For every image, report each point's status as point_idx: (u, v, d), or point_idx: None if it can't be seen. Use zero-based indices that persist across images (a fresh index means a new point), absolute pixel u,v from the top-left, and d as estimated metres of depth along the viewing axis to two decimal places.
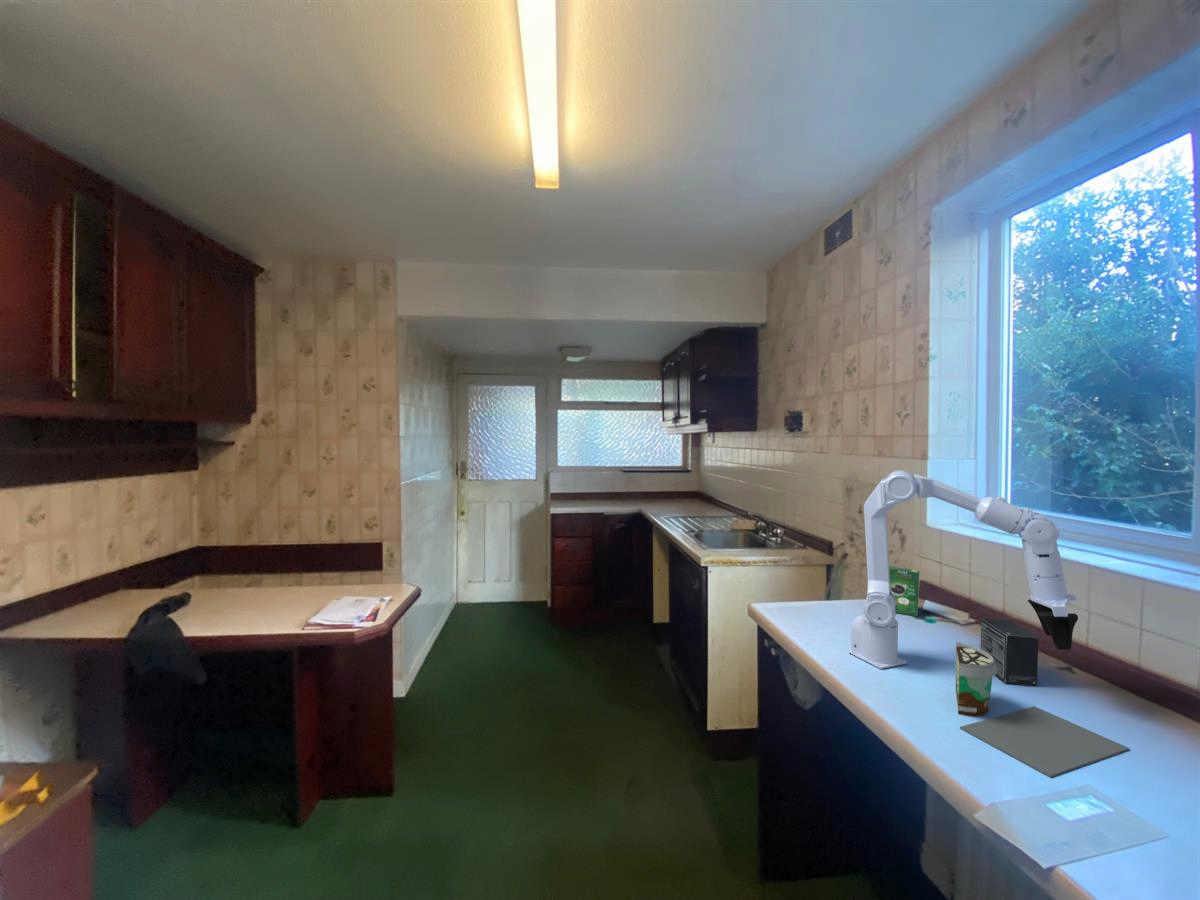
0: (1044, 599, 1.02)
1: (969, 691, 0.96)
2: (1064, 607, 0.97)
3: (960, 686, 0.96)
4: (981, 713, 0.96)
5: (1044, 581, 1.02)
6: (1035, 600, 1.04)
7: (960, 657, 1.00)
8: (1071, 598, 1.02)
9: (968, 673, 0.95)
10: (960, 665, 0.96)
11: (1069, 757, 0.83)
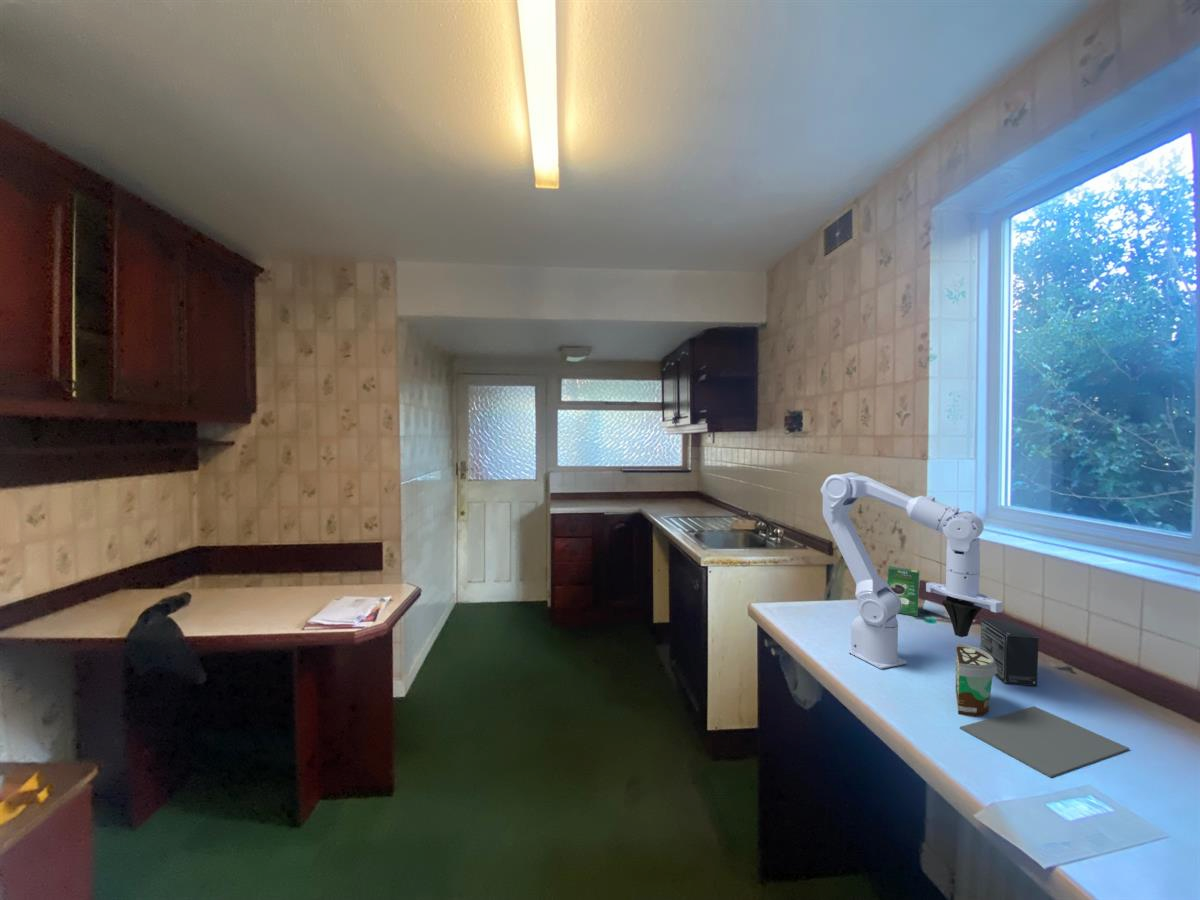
0: (970, 596, 1.05)
1: (969, 691, 0.96)
2: (1001, 603, 1.01)
3: (960, 686, 0.96)
4: (981, 713, 0.96)
5: (973, 578, 1.05)
6: (962, 597, 1.05)
7: (960, 657, 1.00)
8: None
9: (968, 673, 0.95)
10: (960, 665, 0.96)
11: (1069, 757, 0.83)
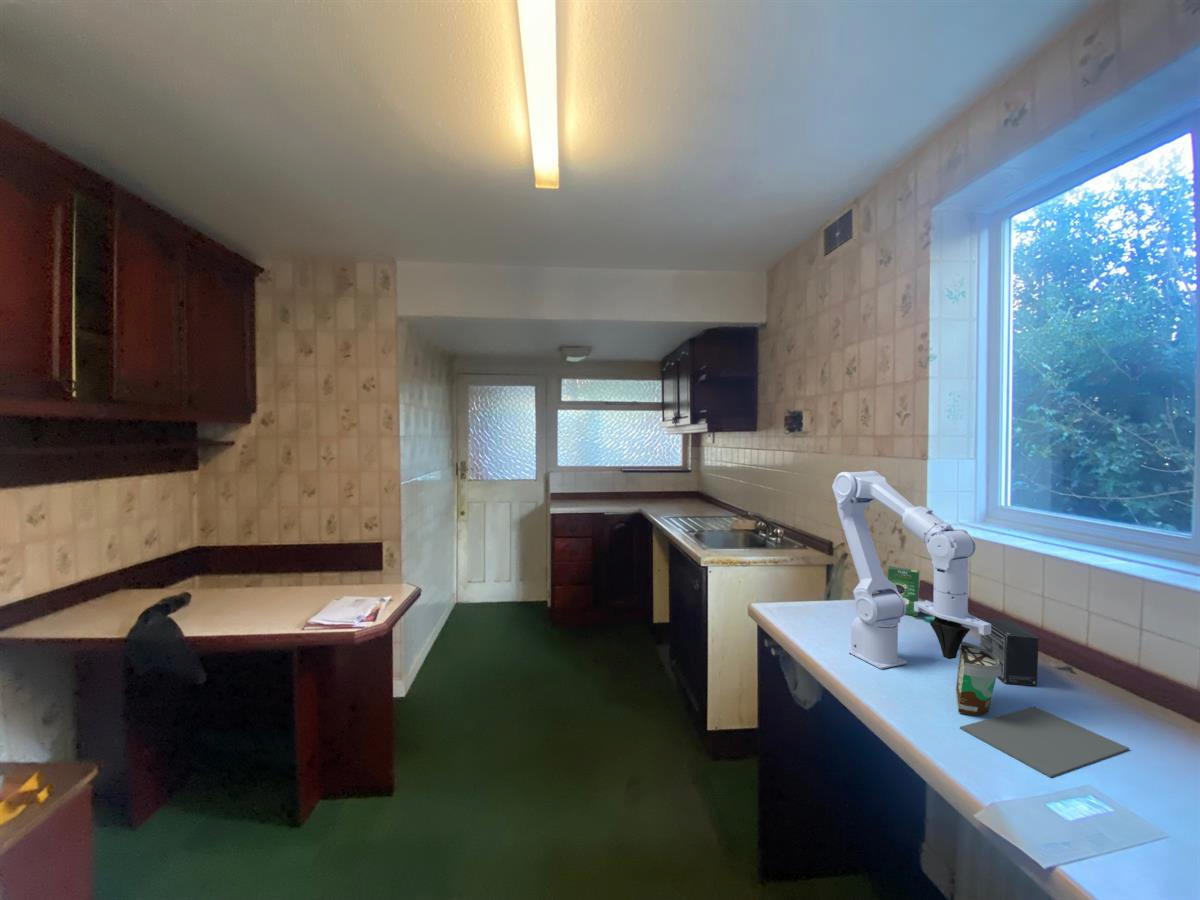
0: (958, 617, 1.01)
1: (971, 691, 0.95)
2: (990, 625, 0.97)
3: (963, 685, 0.96)
4: (981, 712, 0.96)
5: (961, 598, 1.01)
6: (949, 618, 1.01)
7: (965, 656, 0.99)
8: None
9: (973, 672, 0.94)
10: (966, 664, 0.95)
11: (1069, 757, 0.83)
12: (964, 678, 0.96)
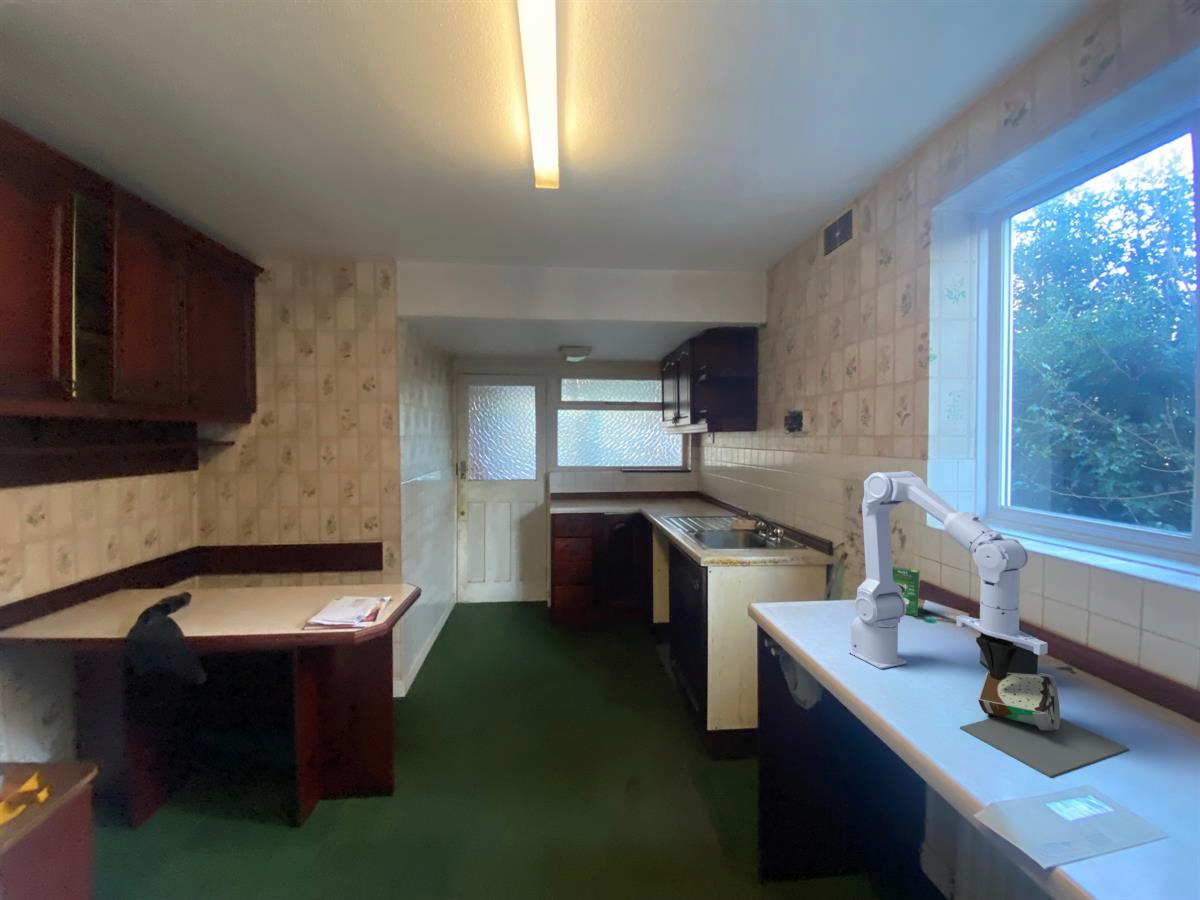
0: (1009, 634, 0.92)
1: (1012, 713, 0.91)
2: (1046, 644, 0.89)
3: (1015, 708, 0.90)
4: (987, 713, 0.96)
5: (1012, 614, 0.92)
6: (1000, 636, 0.93)
7: (1047, 698, 0.91)
8: None
9: (1039, 720, 0.88)
10: (1045, 714, 0.87)
11: (1069, 757, 0.83)
12: (1025, 710, 0.89)
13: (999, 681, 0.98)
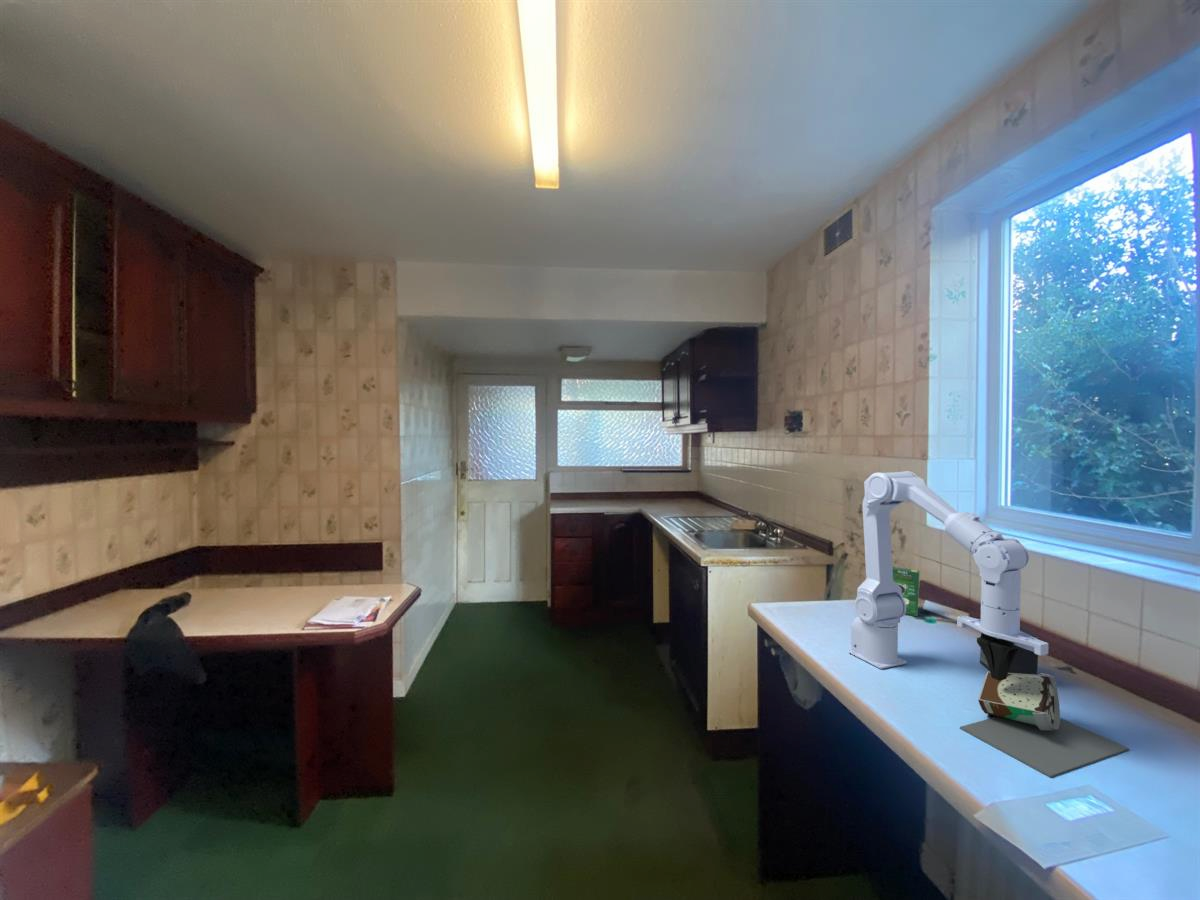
0: (1010, 634, 0.92)
1: (1012, 713, 0.91)
2: (1047, 644, 0.88)
3: (1015, 708, 0.90)
4: (987, 713, 0.96)
5: (1013, 614, 0.92)
6: (1000, 636, 0.92)
7: (1047, 698, 0.91)
8: None
9: (1039, 720, 0.88)
10: (1045, 714, 0.87)
11: (1069, 757, 0.83)
12: (1025, 710, 0.89)
13: (999, 681, 0.98)
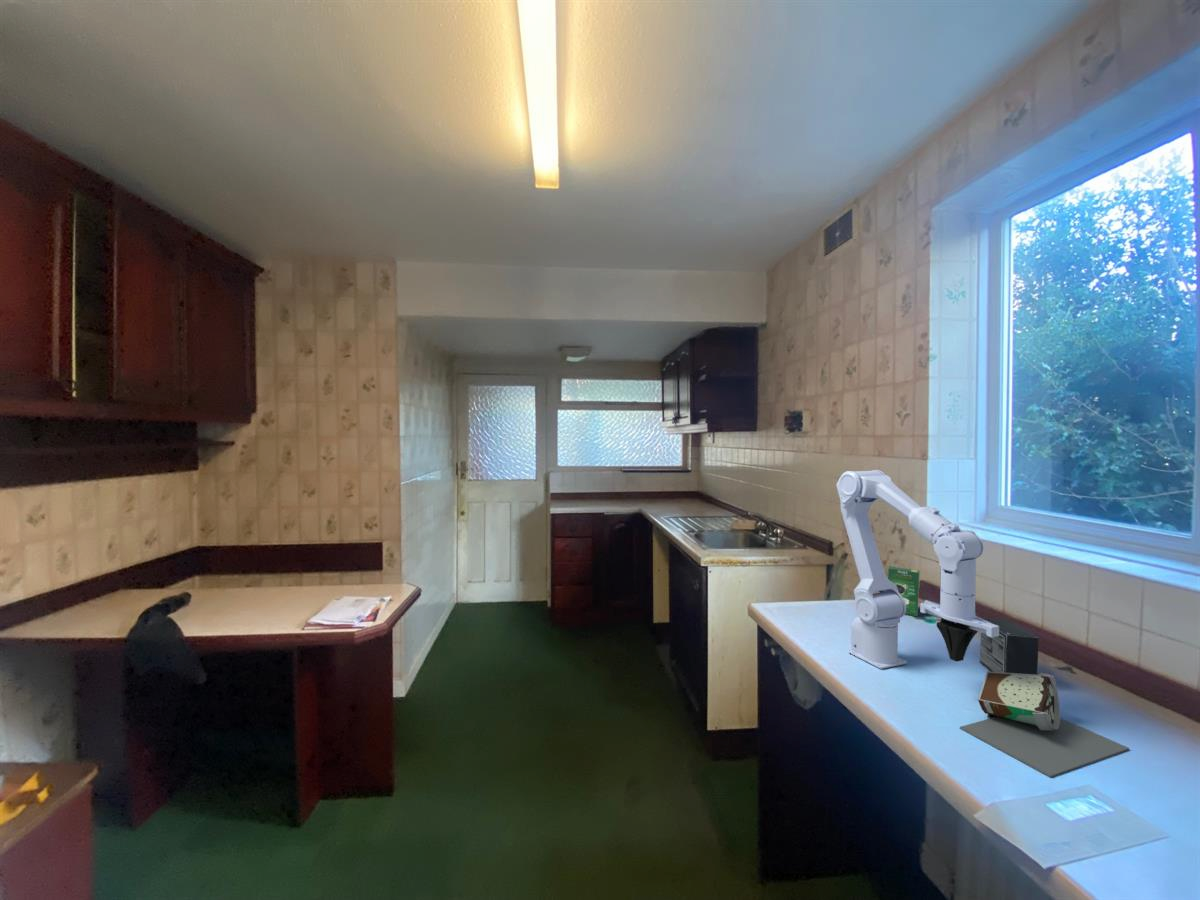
0: (965, 619, 1.00)
1: (1012, 713, 0.91)
2: (998, 627, 0.96)
3: (1015, 708, 0.90)
4: (987, 713, 0.96)
5: (968, 600, 1.00)
6: (957, 620, 1.00)
7: (1047, 698, 0.91)
8: None
9: (1039, 720, 0.88)
10: (1045, 714, 0.87)
11: (1069, 757, 0.83)
12: (1025, 710, 0.89)
13: (999, 681, 0.98)
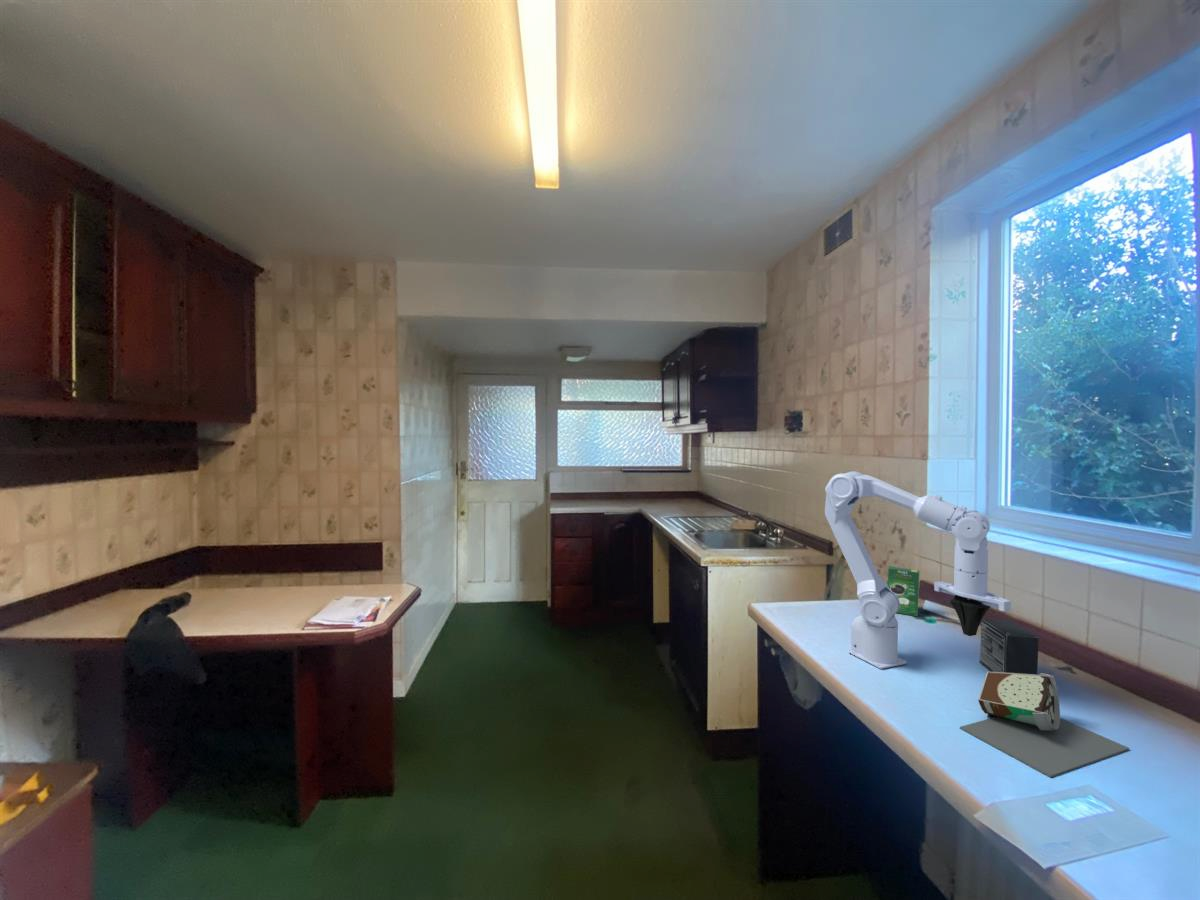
0: (979, 595, 1.05)
1: (1012, 713, 0.91)
2: (1010, 601, 1.01)
3: (1015, 708, 0.90)
4: (987, 713, 0.96)
5: (981, 577, 1.05)
6: (970, 596, 1.05)
7: (1047, 698, 0.91)
8: None
9: (1039, 720, 0.88)
10: (1045, 714, 0.87)
11: (1069, 757, 0.83)
12: (1025, 710, 0.89)
13: (999, 681, 0.98)
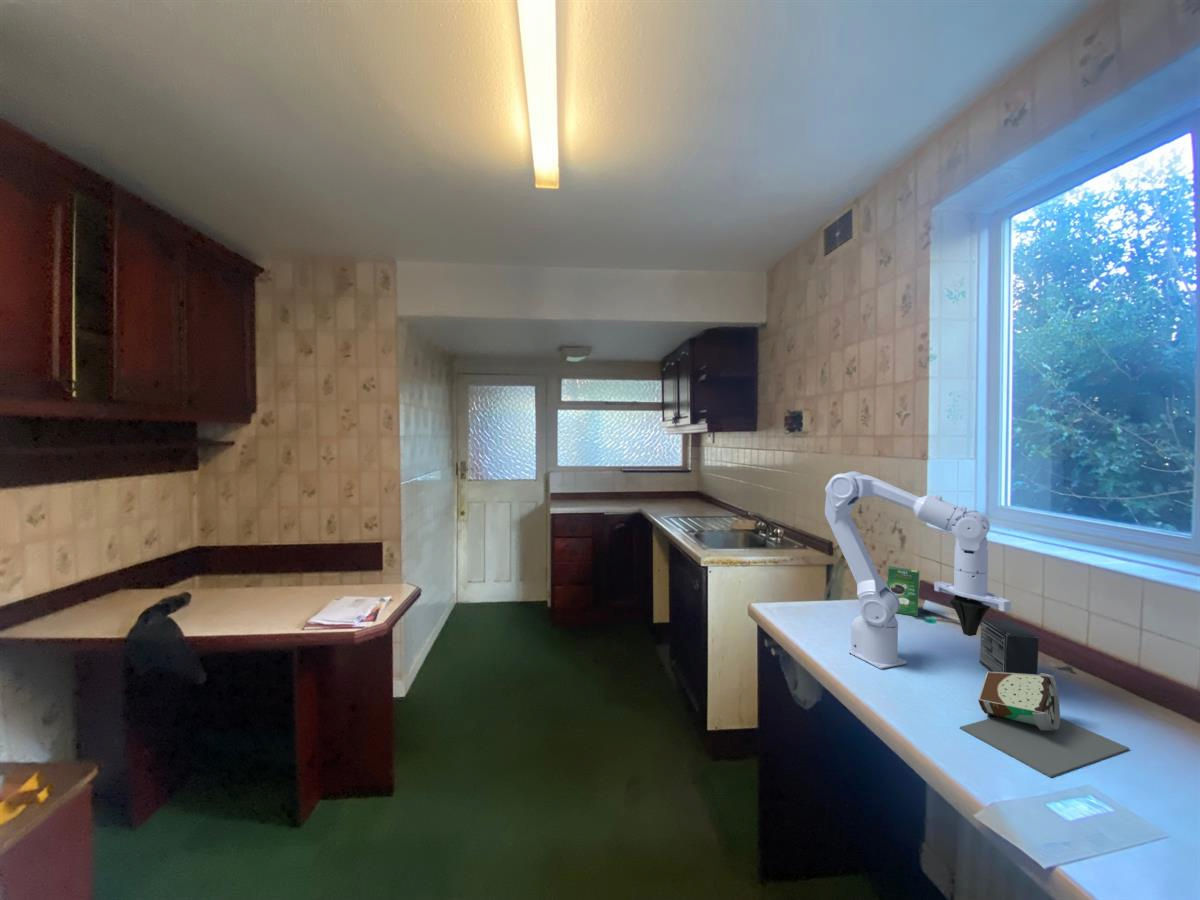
0: (979, 595, 1.05)
1: (1012, 713, 0.91)
2: (1010, 601, 1.01)
3: (1015, 708, 0.90)
4: (987, 713, 0.96)
5: (981, 577, 1.05)
6: (970, 596, 1.05)
7: (1047, 698, 0.91)
8: None
9: (1039, 720, 0.88)
10: (1045, 714, 0.87)
11: (1069, 757, 0.83)
12: (1025, 710, 0.89)
13: (999, 681, 0.98)
